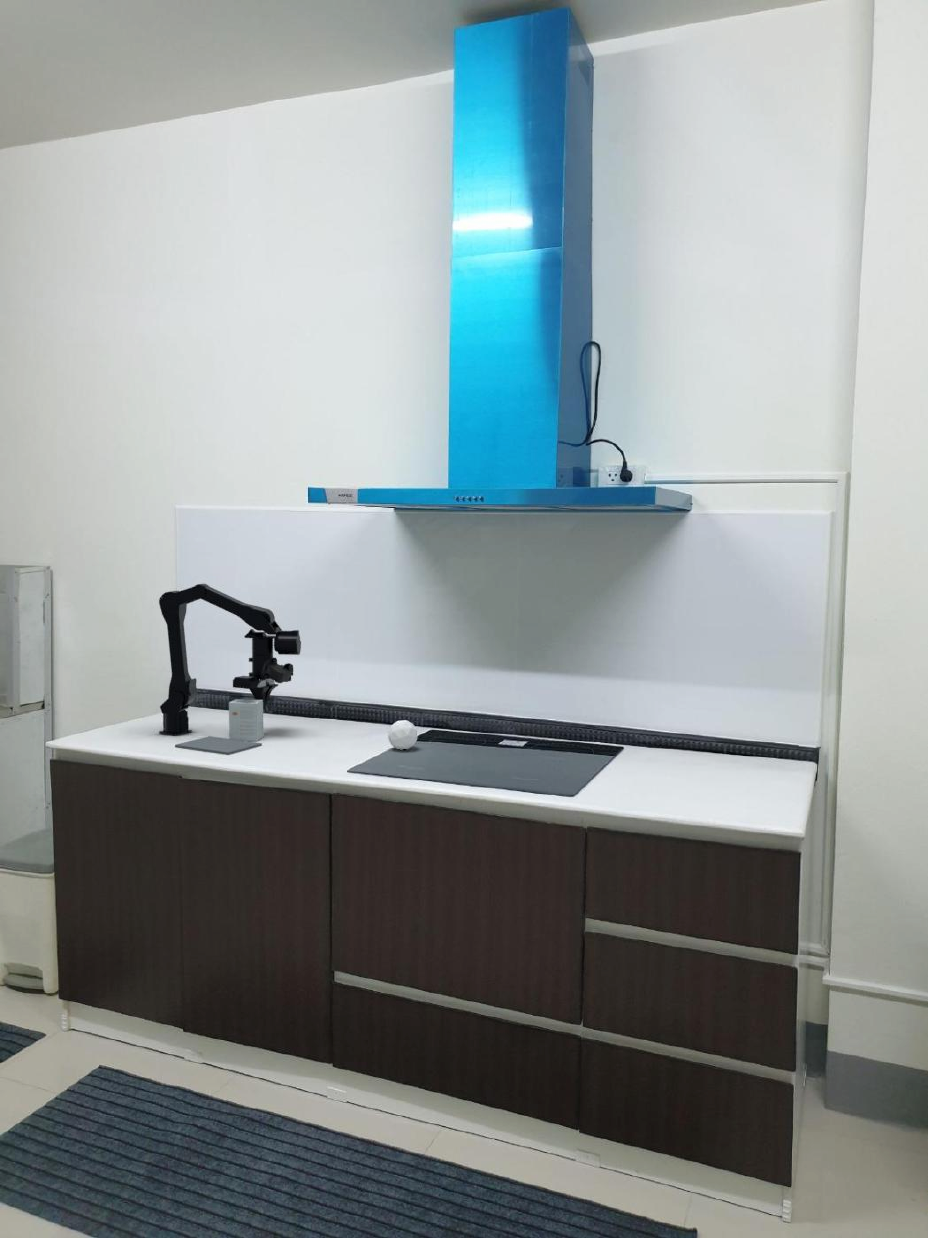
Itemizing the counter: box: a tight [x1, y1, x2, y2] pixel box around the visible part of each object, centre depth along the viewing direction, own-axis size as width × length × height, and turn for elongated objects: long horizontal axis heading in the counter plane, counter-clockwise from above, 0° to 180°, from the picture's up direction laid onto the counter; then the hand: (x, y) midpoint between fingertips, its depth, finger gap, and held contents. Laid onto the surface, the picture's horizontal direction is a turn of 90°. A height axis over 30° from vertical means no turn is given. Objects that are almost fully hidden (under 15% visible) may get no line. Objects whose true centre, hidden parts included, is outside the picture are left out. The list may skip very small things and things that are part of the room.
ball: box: [387, 719, 418, 751], centre depth 251 cm, size 8×8×8 cm
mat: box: [174, 735, 263, 756], centre depth 251 cm, size 18×13×1 cm
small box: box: [228, 698, 265, 742], centre depth 261 cm, size 8×6×10 cm
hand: (262, 710), depth 267 cm, fingers closed
